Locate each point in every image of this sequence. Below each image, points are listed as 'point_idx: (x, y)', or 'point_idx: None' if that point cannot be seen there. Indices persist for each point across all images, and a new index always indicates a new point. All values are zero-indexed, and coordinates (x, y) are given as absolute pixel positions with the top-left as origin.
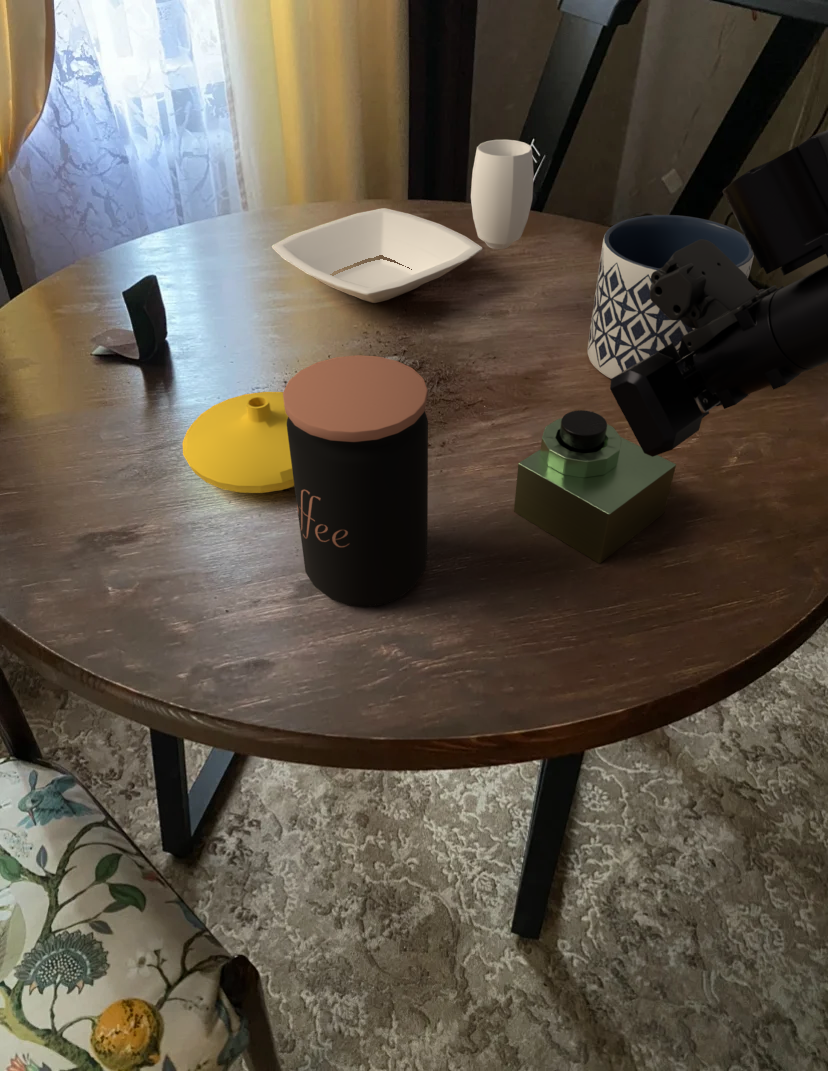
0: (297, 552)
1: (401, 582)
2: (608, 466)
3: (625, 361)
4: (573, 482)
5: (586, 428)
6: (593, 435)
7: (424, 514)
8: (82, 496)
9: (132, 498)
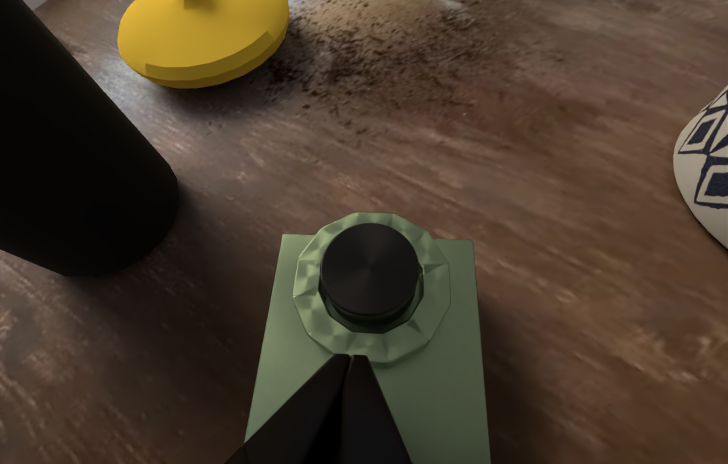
0: None
1: (50, 269)
2: None
3: (716, 173)
4: (291, 334)
5: (351, 282)
6: (340, 308)
7: (28, 225)
8: (97, 5)
9: (112, 25)
